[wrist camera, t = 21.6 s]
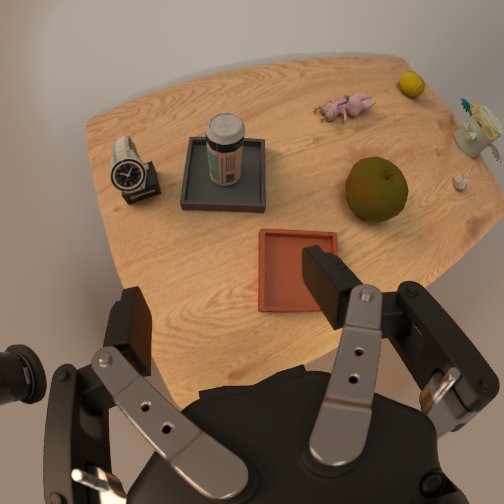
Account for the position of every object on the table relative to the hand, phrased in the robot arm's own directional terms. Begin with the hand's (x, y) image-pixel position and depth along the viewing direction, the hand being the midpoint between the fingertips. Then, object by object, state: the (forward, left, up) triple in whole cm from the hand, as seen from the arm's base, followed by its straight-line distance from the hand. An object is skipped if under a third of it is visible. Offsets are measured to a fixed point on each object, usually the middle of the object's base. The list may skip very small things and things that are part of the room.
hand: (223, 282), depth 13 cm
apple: (+22, +17, -25) cm, 37 cm away
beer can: (-1, +20, -24) cm, 31 cm away
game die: (+50, +25, -25) cm, 61 cm away
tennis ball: (+44, +53, -25) cm, 73 cm away
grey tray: (-1, +20, -25) cm, 32 cm away
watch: (-14, +18, -25) cm, 34 cm away
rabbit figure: (+22, +38, -25) cm, 51 cm away
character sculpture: (+60, +40, -25) cm, 76 cm away
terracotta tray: (+10, +5, -25) cm, 27 cm away
